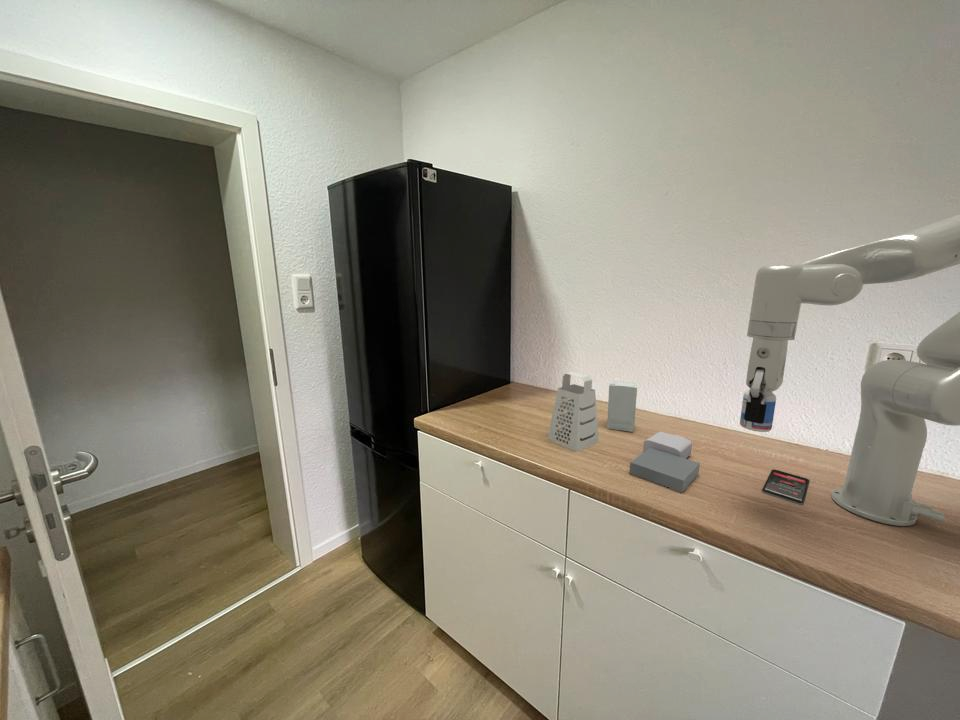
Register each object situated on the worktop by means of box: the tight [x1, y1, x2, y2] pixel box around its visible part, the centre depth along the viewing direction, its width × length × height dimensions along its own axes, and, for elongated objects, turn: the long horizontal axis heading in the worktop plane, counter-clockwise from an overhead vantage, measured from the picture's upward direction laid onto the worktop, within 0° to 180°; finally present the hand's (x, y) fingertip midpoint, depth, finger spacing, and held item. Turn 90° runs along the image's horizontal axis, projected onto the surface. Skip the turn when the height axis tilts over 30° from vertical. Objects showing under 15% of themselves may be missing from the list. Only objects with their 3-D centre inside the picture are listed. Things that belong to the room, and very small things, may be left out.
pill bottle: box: [739, 385, 777, 433], centre depth 78 cm, size 6×5×10 cm
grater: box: [546, 371, 600, 453], centre depth 110 cm, size 10×10×20 cm
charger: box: [642, 431, 693, 459], centre depth 105 cm, size 5×9×15 cm
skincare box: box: [606, 380, 638, 433], centre depth 121 cm, size 8×6×15 cm
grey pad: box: [629, 448, 701, 494], centre depth 93 cm, size 12×12×3 cm
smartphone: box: [761, 468, 810, 506], centre depth 89 cm, size 7×1×15 cm
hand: (756, 417), depth 79 cm, fingers closed on pill bottle, 5 cm apart
